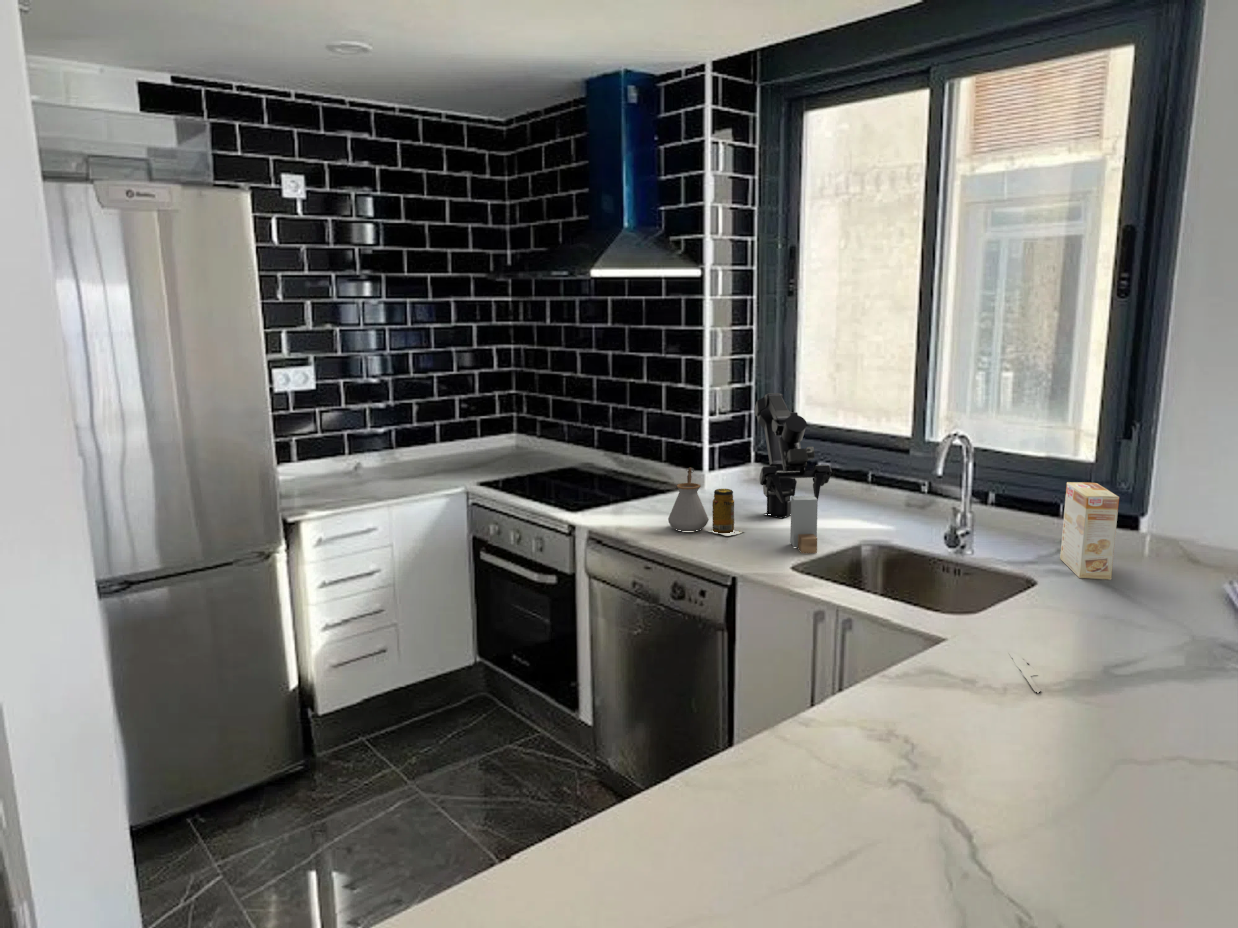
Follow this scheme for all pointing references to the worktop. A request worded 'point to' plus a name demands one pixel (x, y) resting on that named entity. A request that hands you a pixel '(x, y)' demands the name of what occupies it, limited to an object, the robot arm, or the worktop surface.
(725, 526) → the condiment
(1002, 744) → the worktop surface
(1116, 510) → the coffeecake box
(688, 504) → the coffee pot
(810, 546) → the walnut cube
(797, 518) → the block
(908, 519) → the worktop surface
